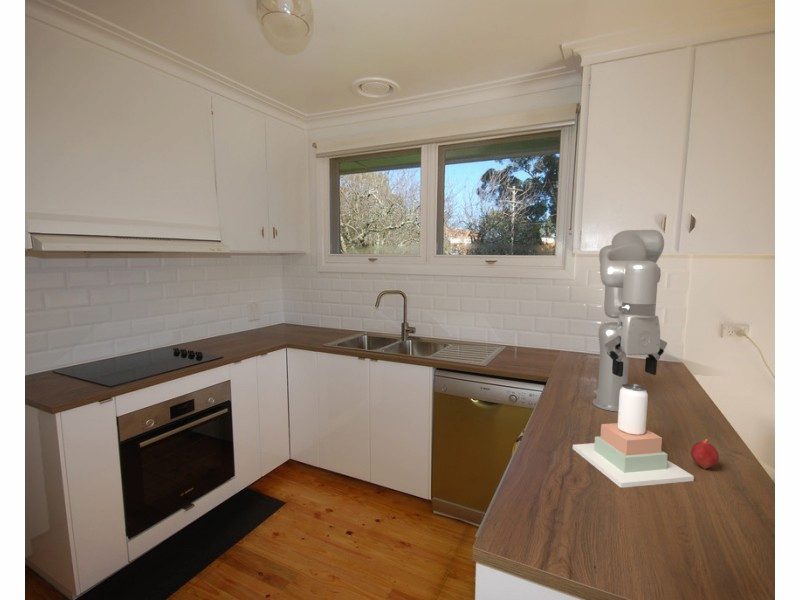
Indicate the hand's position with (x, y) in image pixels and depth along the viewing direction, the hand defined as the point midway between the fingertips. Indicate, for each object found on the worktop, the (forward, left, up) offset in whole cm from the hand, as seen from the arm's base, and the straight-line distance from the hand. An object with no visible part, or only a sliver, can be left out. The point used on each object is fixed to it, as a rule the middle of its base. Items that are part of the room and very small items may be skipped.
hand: (633, 374), depth 105 cm
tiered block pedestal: (0, 0, -25) cm, 25 cm away
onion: (+5, +18, -25) cm, 31 cm away
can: (0, 0, -16) cm, 16 cm away
